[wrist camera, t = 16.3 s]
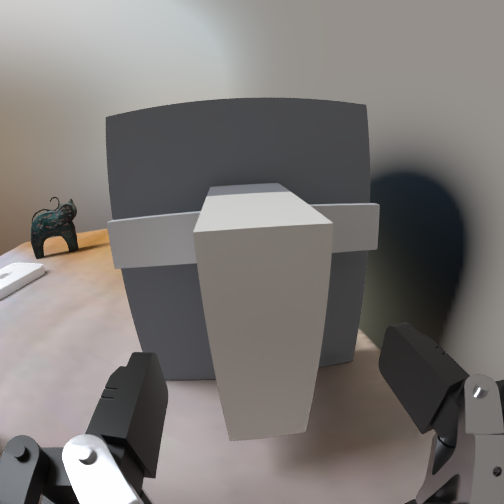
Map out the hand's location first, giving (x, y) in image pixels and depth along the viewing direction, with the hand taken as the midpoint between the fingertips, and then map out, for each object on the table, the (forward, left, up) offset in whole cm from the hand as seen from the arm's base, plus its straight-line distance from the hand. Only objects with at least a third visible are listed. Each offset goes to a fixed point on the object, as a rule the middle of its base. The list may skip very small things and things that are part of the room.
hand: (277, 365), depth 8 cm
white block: (+4, +8, -9) cm, 13 cm away
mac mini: (-35, +73, -15) cm, 83 cm away
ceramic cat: (-19, +96, -14) cm, 98 cm away
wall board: (+7, +13, -14) cm, 20 cm away
